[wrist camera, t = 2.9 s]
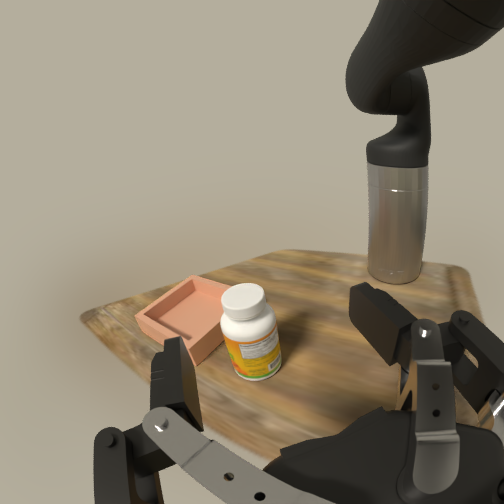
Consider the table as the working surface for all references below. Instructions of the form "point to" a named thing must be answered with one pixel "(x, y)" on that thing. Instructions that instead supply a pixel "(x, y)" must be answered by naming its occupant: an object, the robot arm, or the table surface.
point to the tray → (187, 316)
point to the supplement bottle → (250, 332)
